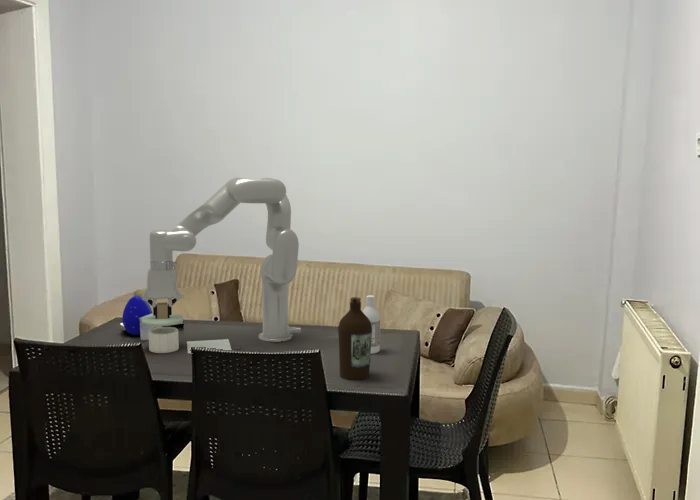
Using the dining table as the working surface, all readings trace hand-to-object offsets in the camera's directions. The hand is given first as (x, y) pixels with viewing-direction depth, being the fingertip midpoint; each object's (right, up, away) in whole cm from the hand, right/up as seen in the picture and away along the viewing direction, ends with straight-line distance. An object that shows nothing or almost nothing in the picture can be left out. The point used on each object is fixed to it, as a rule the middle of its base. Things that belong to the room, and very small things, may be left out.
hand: (162, 316), depth 245 cm
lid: (0, -1, 0) cm, 1 cm away
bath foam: (+73, -13, +3) cm, 74 cm away
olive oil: (+67, -16, -23) cm, 73 cm away
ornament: (-15, -9, +22) cm, 28 cm away
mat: (+15, -11, +6) cm, 20 cm away
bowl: (0, -12, +2) cm, 12 cm away
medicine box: (-9, -10, +17) cm, 21 cm away
